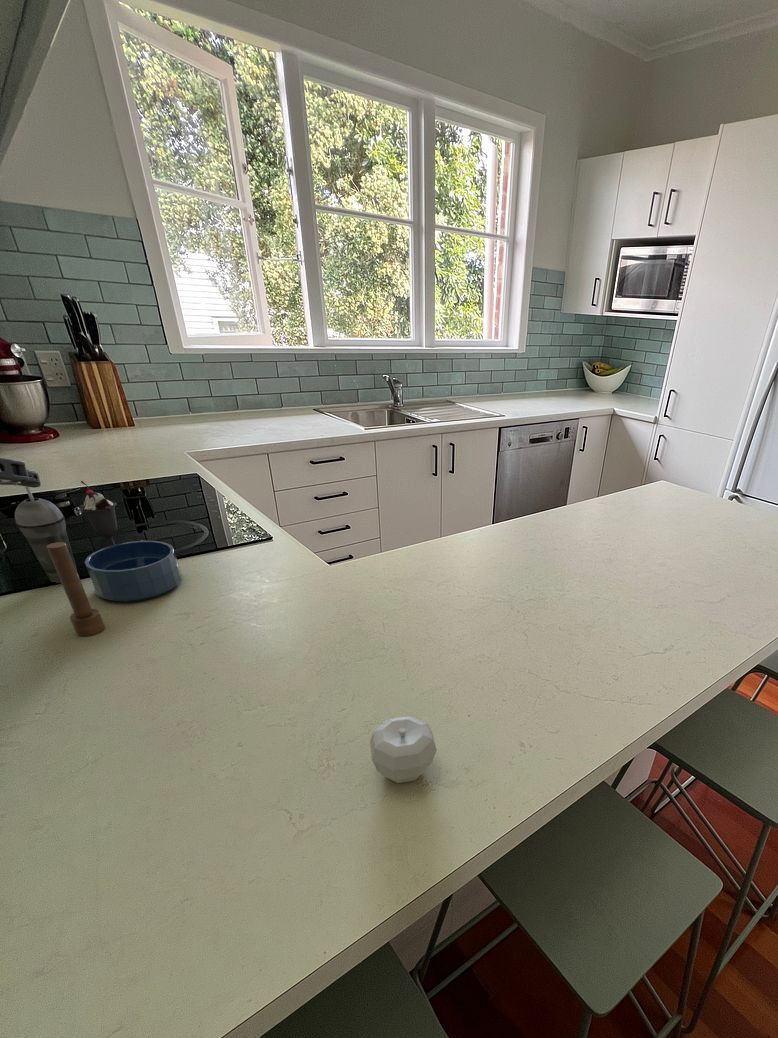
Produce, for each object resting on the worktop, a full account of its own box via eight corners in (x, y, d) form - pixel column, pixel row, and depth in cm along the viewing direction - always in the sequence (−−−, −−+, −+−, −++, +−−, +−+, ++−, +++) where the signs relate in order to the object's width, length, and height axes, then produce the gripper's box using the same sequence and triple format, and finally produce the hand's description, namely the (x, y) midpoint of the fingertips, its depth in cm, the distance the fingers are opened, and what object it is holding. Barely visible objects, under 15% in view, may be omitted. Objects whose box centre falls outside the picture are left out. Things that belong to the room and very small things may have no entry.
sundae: (100, 547, 118) (75, 478, 110) (134, 544, 120) (112, 476, 112) (91, 559, 113) (64, 487, 105) (128, 556, 115) (104, 485, 107)
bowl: (81, 604, 96) (67, 571, 93) (120, 571, 108) (109, 540, 105) (164, 604, 98) (154, 571, 94) (193, 571, 110) (185, 540, 106)
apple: (416, 739, 70) (414, 699, 66) (450, 777, 64) (450, 735, 61) (359, 765, 65) (354, 724, 62) (391, 807, 60) (387, 765, 57)
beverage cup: (42, 589, 101) (-6, 482, 90) (40, 575, 106) (-5, 471, 95) (88, 580, 104) (47, 476, 94) (84, 567, 109) (45, 466, 99)
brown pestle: (71, 636, 88) (33, 550, 80) (84, 624, 91) (49, 539, 83) (97, 636, 88) (62, 550, 80) (109, 624, 91) (77, 540, 83)
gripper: (-70, 421, 60) (48, 449, 76) (-190, 442, 61) (-47, 465, 77) (-49, 490, 61) (63, 503, 77) (-167, 510, 62) (-31, 519, 78)
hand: (8, 484), depth 77 cm, fingers open, 8 cm apart
